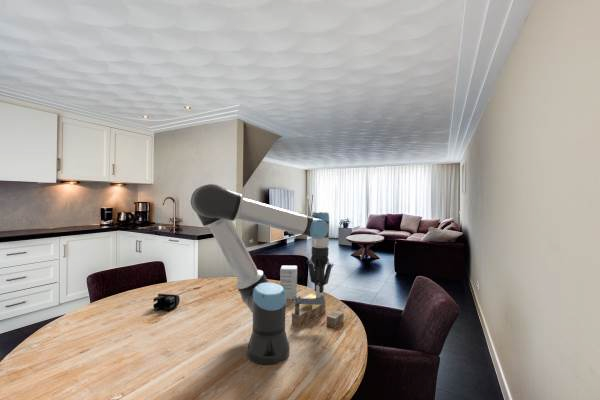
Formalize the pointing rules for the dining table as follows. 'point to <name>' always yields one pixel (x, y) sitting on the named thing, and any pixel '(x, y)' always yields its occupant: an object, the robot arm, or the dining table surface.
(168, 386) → the dining table surface
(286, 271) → the supplement box
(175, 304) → the end cap
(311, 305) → the gold metallic block
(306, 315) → the body
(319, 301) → the lever
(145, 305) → the dining table surface
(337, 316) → the block
